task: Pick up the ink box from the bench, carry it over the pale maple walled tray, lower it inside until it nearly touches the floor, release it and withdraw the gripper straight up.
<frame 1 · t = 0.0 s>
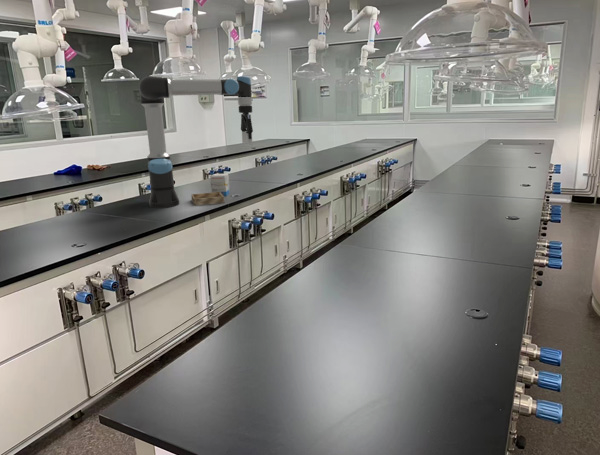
hand: (247, 143, 256), 28 cm above the worktop, fingers open, 13 cm apart
maple tray: (207, 201, 241), on the worktop
ink box: (220, 195, 258), on the worktop
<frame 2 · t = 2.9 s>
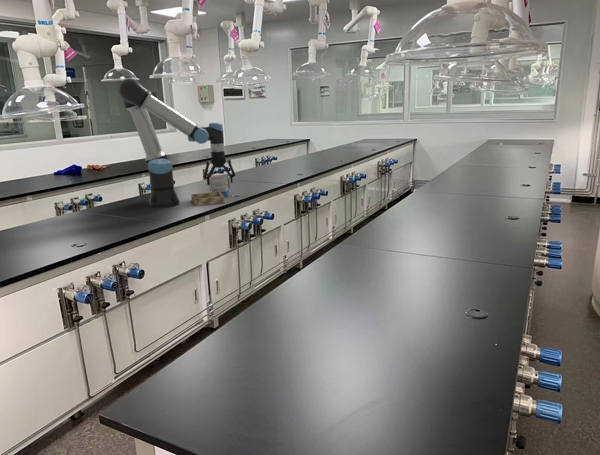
hand: (220, 189, 257), 3 cm above the worktop, fingers closed on ink box, 11 cm apart
ink box: (220, 195, 258), on the worktop, touching gripper
when the fingers open (6 cm above the worktop, at t = 8.1 s): ink box drops 2 cm, resting on maple tray.
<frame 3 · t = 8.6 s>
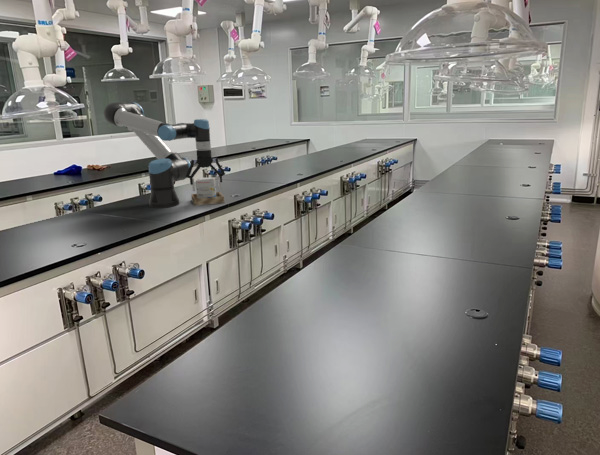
hand: (206, 189, 239), 6 cm above the worktop, fingers open, 13 cm apart
ink box: (207, 200, 241), point 1 cm above the worktop, touching maple tray
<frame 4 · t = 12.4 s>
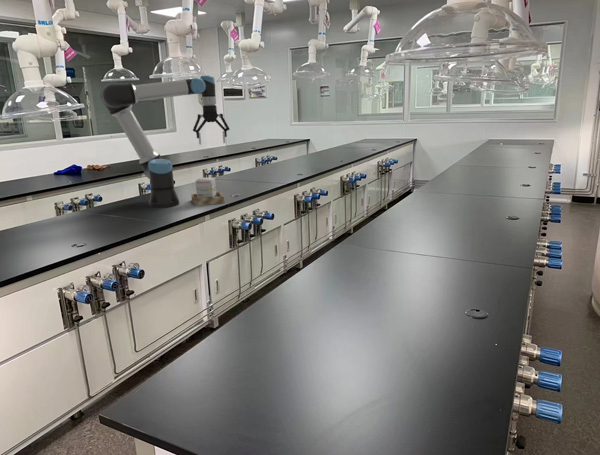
hand: (212, 143, 254), 29 cm above the worktop, fingers open, 13 cm apart
nothing on the worktop moved.
at the end: ink box inside the target area on the maple tray (0.2 cm from its centre), point 0.6 cm above the maple tray's base; ink box tilted 0°; the gripper is holding nothing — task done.
